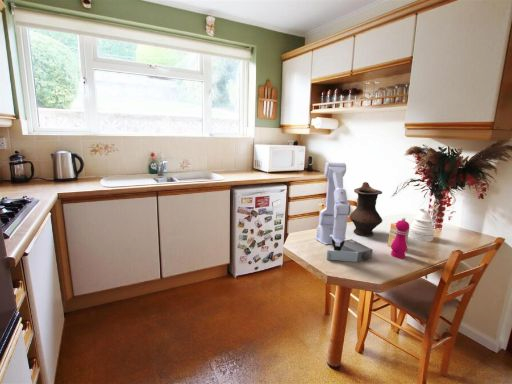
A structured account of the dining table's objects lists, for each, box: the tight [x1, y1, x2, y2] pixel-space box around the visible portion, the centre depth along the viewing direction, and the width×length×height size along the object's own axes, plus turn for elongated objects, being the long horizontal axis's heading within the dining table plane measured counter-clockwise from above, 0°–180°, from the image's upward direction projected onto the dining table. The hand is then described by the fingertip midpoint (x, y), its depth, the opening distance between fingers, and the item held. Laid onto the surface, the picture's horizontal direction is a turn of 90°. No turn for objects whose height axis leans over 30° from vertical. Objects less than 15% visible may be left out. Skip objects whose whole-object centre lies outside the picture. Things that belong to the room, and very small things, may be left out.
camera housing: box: [341, 239, 373, 262], centre depth 143 cm, size 15×10×5 cm, turn 27°
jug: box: [348, 181, 383, 237], centre depth 172 cm, size 21×18×30 cm
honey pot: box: [408, 207, 435, 243], centre depth 170 cm, size 13×13×18 cm
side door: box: [325, 249, 358, 263], centre depth 135 cm, size 14×2×4 cm, turn 84°
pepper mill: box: [390, 217, 410, 259], centre depth 142 cm, size 7×7×20 cm
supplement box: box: [387, 222, 410, 248], centre depth 153 cm, size 8×5×13 cm, turn 21°
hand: (336, 254), depth 137 cm, fingers closed
